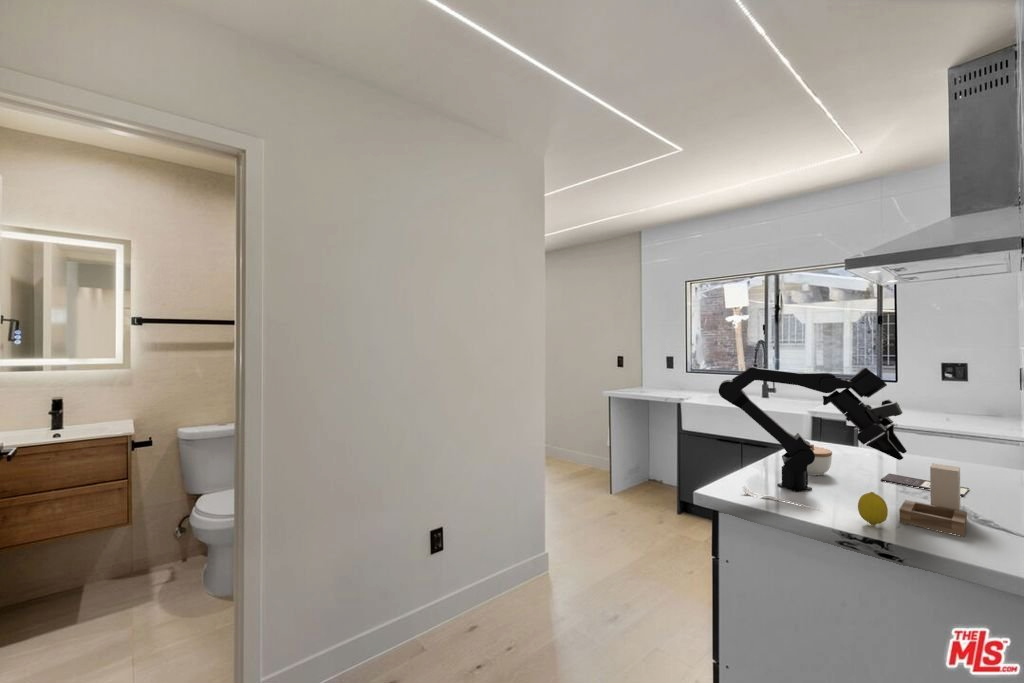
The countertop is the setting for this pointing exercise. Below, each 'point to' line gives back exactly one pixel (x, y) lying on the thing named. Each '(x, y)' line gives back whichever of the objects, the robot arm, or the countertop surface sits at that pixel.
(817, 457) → the lidded jar
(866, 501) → the lemon
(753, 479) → the countertop surface
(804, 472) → the robot arm
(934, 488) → the clay bar
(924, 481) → the chocolate bar
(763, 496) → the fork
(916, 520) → the tray
